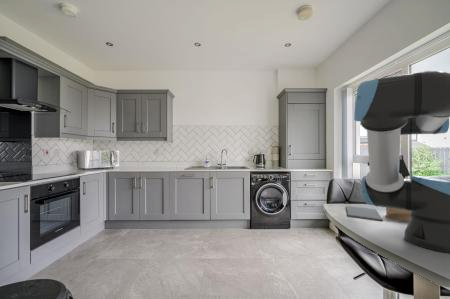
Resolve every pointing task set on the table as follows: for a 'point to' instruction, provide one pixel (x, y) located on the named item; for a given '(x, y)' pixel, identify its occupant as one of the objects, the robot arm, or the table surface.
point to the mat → (363, 213)
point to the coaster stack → (398, 214)
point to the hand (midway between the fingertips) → (386, 184)
